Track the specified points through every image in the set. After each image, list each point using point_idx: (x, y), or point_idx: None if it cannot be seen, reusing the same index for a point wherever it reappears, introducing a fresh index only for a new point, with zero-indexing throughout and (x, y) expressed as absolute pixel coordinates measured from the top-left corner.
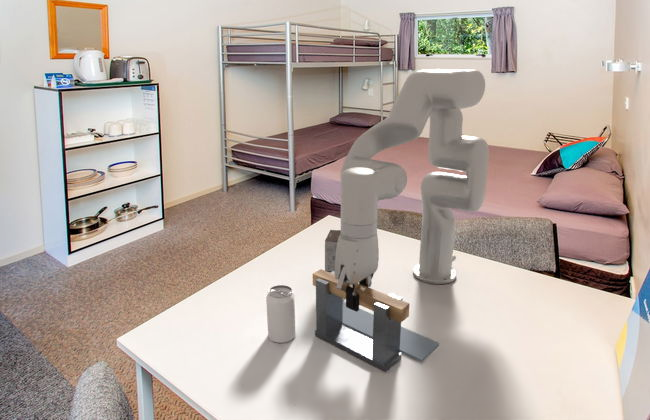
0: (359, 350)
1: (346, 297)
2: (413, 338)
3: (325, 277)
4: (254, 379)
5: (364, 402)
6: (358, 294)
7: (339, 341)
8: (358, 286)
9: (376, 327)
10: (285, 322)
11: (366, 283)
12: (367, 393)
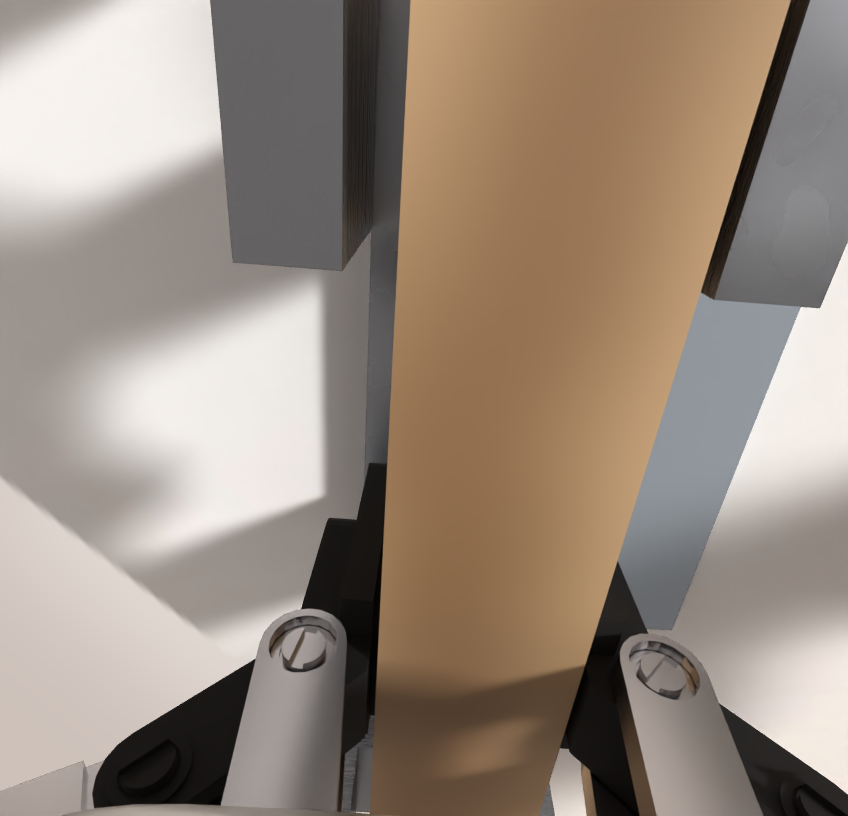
0: (386, 422)
1: (353, 537)
2: (655, 544)
3: (463, 49)
4: None
5: (171, 552)
6: (368, 727)
7: (384, 287)
8: (503, 703)
9: None
10: None
11: (592, 786)
12: (216, 540)
